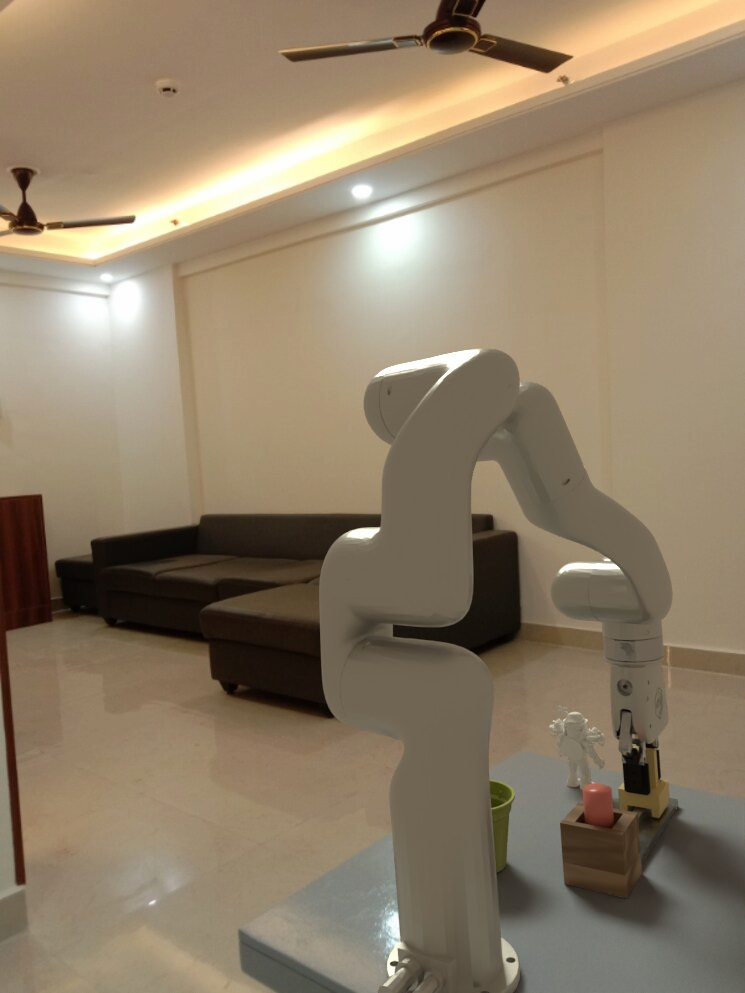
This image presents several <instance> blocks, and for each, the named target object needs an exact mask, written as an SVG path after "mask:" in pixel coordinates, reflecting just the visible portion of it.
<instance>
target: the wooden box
mask: <svg viewBox="0 0 745 993" xmlns="http://www.w3.org/2000/svg"><path fill="white" fill-rule="evenodd" d="M619 809H620V808H613V815H614V827H613V828H612V829H610V828H605V827H599V826H594V825H589V824H585V817H584V803H583V802H577V803H576V804H575V805H574V807H572V809H571V810H570V811H569V812H568V813H567V814H566V815H565V817H564V818H563V819H562V820H561V821H560V822H559V828H560V841H561V856H562V869H563V882H564V883H563V884H564V885H567V886H571V887H574V888H575V887H576V888H581V889H585V890H588V891H593V892H598V893H602V894H604V895H605V894H606V895H610V896H614V897H619V898H623V899H627V898H628V896H629V895H630V893H631V892H632V890H633V889H634V887H635V886H636V884H637V882H638V881H639V879H640V878H641V876H642V874H643V870H642V866H641V852H640V838H639V823H638V813H636V812H630V811H624V810H619Z"/></svg>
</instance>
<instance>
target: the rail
mask: <svg viewBox="0 0 745 993" xmlns="http://www.w3.org/2000/svg"><path fill="white" fill-rule="evenodd" d="M677 807H678V808H679V801H678V798H673V797H672V798H671V797H669V804H668V805H667V807H666V808H665V810H664V811H663V813H662V815H661V816H660V818H656V817H652V810H651V809H648V808H642V807H636V806H632V807H631V809H630V810H629V811H630V812H636V813H638V823H639V838H640V852H641V867H642V866H643V864H644V862H646V860H647V858H648V856H649V855H650V853H651V851H652V849H653V848H654V847H655V845H656V843H657V841H658V840H659V839H660V837H661V835H662V833H663V832H664V830H665V829H666V827H667V826H668V824H669V823H670V821H671V819H672V817H673V816H674V814H675V812H676V811H677V809H678V808H677ZM676 808H677V809H676ZM618 809H619V810H621V807H620V808H618ZM675 810H676V811H675Z"/></svg>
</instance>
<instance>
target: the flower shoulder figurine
mask: <svg viewBox="0 0 745 993" xmlns="http://www.w3.org/2000/svg"><path fill="white" fill-rule="evenodd" d="M554 707H555V710H556V709H557V712H561V714H562V715H564V716H565V715H566V717H564V719H562V717H558V719H556V720H552V723H553V724H550V725H549V726H548V728H549V729H550V730H549V732H550V735H551V737H552V738H554V739H555V738H557V737H558V736H559V737H558V740H557V755H558V757H559V758H563V757H566V758H567V761H568V769H569V770H568V776H567V780H566V785H567V787H569V788H578V787H579V789H580V790H581V791H583V787H584V786H585V785H588V784H596V783H595V782H594V781H592V771H591V765H590V762H589V758H588V756H589V757H590V758H591V759H592V761H593V763H594V764H596V766H597V767H598V768H599V770H601V769H604V768H605V765H606V762H605V759H603V758H602V757H601V756H600V755H599V753H598V752H597V751H596V749H595V748H594V746H595V744H596V743H598V745H599V746H600V747H604V746H605V743H606V738H605V737H604V736H605V733H603V732H602V730H599V729H598V728H597V727H599V725H597V727H595V726H593V727H592V728H590V727H589V728H588V724H587V723H588V721H589V719H587V718H585V716H584V715H583V714H582V713H581V712H578V711H571V712H569V711H567V710H568V707H563V706H561V705H559V704H558V703H555V704H554ZM559 734H560V735H559ZM579 771H581V772H580V773H581V776H580V778H579Z"/></svg>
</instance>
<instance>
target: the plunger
mask: <svg viewBox="0 0 745 993" xmlns="http://www.w3.org/2000/svg"><path fill="white" fill-rule="evenodd" d="M612 791H613V789H612V787H610V785H607V784H604V783H595V784H588V785H585V786H584V787H583V790H582V798H583V799H582V800H583V802H582V803H584V817H585V824H589V825H594V826H599V827H605V828H610V829H612V828H613V827H614V815H613V809H614V804H613V803H614V802H613V792H612Z"/></svg>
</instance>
